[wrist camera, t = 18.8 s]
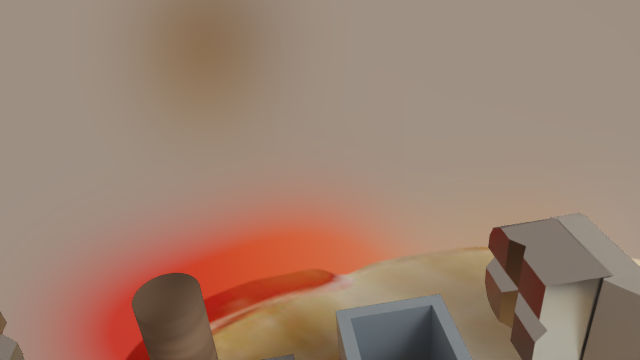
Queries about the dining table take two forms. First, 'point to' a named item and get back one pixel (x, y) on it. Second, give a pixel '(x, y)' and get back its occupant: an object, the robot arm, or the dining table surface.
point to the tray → (282, 358)
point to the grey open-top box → (400, 331)
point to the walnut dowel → (174, 319)
